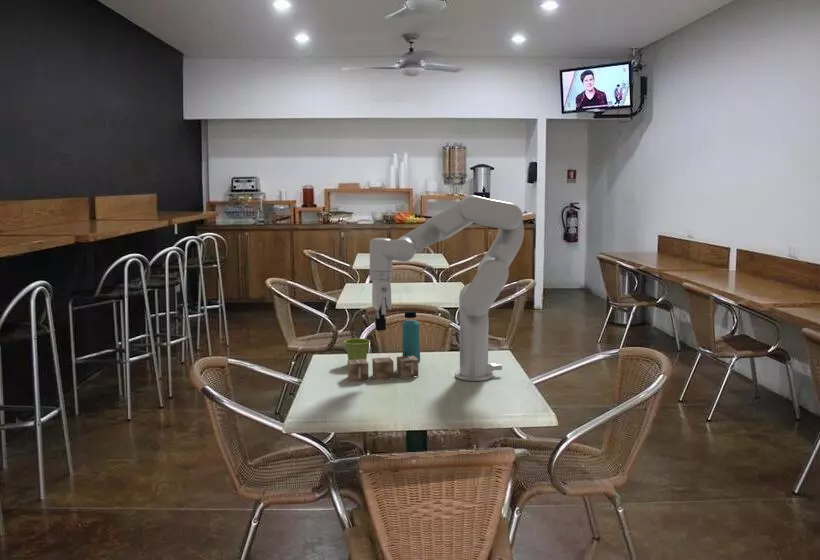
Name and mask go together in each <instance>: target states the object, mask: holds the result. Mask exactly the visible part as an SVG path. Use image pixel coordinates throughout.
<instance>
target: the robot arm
mask: <svg viewBox="0 0 820 560" xmlns="http://www.w3.org/2000/svg"><path fill="white" fill-rule="evenodd" d="M472 224H477V225H482V226H486V227H490V228H496V229H498V231H497V233H496V237H495V238H494V240H493V242H492V244H491V246H490V248H489V249H488V250H487V252H485V253H486V254H484V256H483V258H482V259H481V260H480V262H479V263H478V266H477V272H476V274H475V276H474V277H473V279H472V281H471V282H470V283H467V284H465V285H464V286H463V287H462V288H461V290H460V292H459V296H458V297H459V298H458V303H459V304H458V305H459V308H458V309H459V370H457V371H455V372H454V373H455V374H454V375H455V378H456V379H459V380H461V381H466V382H467V381H468V382H482V381H488V380H491V379H492V378H493V376H494V373H493V372H494V371H502V370H503V365H502V363H501V364H496V363H490V362H489V311H490V310H489V309H491V307H492V305H494V303H495V301H496V299H497V298H498V297H499V295H500V293H501V291H502V290H503V289H504V287H505V285H506V283H507V281H508V280H509V275H510V274H509V273H510V272H509V270H510V269H509V268H510V265H511V264H512V263H513V261H514V259H515V257H516V255H517V254H518V252H519V251H520V248H521V246H522V244H523V242H524V237H525V228H524V227H525V226H524V221H523V211H522V210H521V207H519V206H518V205H516V204H515V203H512V202H507V201H502V200H496V199H491V198H487V197H482V196H479V195H475V194H471V195H468V196H465V197H463V198H462V199H461V200H458V201H457V202H455V203H454V204H452V205H450V206H448V207H447V208H445V209H444V210H442V211H440V212H438V213H437V214H436V215H433V216H432V217H431V218H429V219H428V220H426V222H424V223H422V224H420V225H418V226H417V227H416V228H414V229H411V230H410V231H409V232H407V233H406V234H403V235H402V236H400V237H399V238H398V239H391V238H388V237H374V238H371V239H370V241H369V281H371V282H372V286H371V287H372V288H371V291H372V292H371V294H372V295H371V302H372V303H371V304H372V307H373V308H374V309H375V325H374V326H375V330H376V331H386V330H387V324H386V323H387V320H386V319H387V317H386V316H387V310H388V311H391V310H392V286H391V281H393V261H397V262H402V263H404V262H409V261H410V260H412V259H413V258H415V257H414V256H415V255H416V254H417V253H420V252H421V251H423V250H424V249H426V248H427V247H430V246H431V245H433V244H435V243H438V242H441V241H444V240H447V239H449V238H451V237H453V236H454V235H456V234H458V232H460V231H462V230H463V229H466V228H468V227H469V226H471V225H472Z"/></svg>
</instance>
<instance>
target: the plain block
mask: <svg viewBox="0 0 820 560" xmlns="http://www.w3.org/2000/svg"><path fill="white" fill-rule="evenodd" d="M371 361H372V362H371V363H372V365H371V366H372V376H374V377H375V378H374V377H373V378H374V379H375V380H376V381H378V380H377V379H383V380H392V379H391V378H394V377H395V376H394V360H393V359H392V358H391V357H389V356H387V357H376V358H372V359H371Z"/></svg>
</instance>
